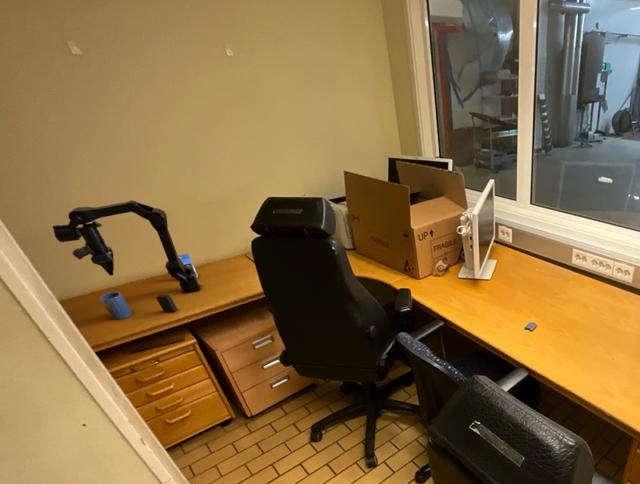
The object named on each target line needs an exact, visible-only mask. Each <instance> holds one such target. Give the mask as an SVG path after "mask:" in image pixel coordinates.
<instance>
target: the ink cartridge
mask: <svg viewBox="0 0 640 484" xmlns="http://www.w3.org/2000/svg"><path fill="white" fill-rule="evenodd" d="M155 299H156V301H157V302H158V305H159V306H160V308H161V310H162V311H163V312H164V313H175V312H176V311H177V310H178V307H177V306H176V304H175V301H174V299H173V298H172V296H171V295H170V294H158V295H157V296H155Z"/></svg>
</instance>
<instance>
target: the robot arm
mask: <svg viewBox="0 0 640 484" xmlns="http://www.w3.org/2000/svg"><path fill="white" fill-rule="evenodd" d="M127 213H133V214H136V215H137V216H139V217H141V218H142V219H145V220H147V221H148V222H149V223H150V225H151V227H152V228H153V229H154V230H155V231H156V233H157V235H158V238H159V240H160V244H161V245H162V248H163V250H164V253H165V256H166V258H167V261H166V262H165V266H164V267H165V269H166V271H167V274H168V275H170V277H171V278H173V279H175V280H177V281H178V282H179V283H178V284H179V286H180V288H181V291H183V294H188V293H193V292H194V293H195V292H199V291H200V290H201V284H199V282H198V279H197V278H195V276H193V270H191V269H189V268H186V267H185V265H184V264H183V262H182V261H181V260H180V259H179V258H180V257H178V255H179V254H178V252H177V250H176V247H175V244H174V242H173V239H172V236H171V234H170V231H169V225H168V218H167V217H168V216H167V213H166V211H165V210H163V209H161V208H157V207H156V208H155V207H152V206H151V205H147V204H144V203H140V202H138V201H136V200H128V201H124V202H118V203H112V204H108V205H107V204H106V205H102V206H93V207H92V206H77V207H74V208H73V209H72V210H71V211H69V213H68V219H69V221H68V224H55V225H52V229H53V233H54V237H55V239H56V240H57V241H59V243H66V242H75V241H80V240H81V238H82V239H83V240H84V242H85V243H84V245H83V246H80V247H79V248H75V249H73V251H72V252H71V254H72V255H73V257H74V258H76V259H78V260H82V259H83V258H84V257H87V256H89V255H90V261H91V262H92V264H94V265H97V266H100V267H101V268H102V269H103V270H104V271H105V272H106V273H107V274H108V275H109V276H114V271H115V267H114V266H115V264H114V262H115V261H114V251H113V249H112V247H111V246H108V245H107V243H106V242H105V239H104V238H103V237H102V235H101V232H100V231H99V229H98V228H101V227H102V226H103V224H102V223H99V222H98V221H97V220H98V219H101V218H106V217H107V218H108V217H113V216H117V215H122V214H127Z"/></svg>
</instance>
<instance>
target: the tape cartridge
mask: <svg viewBox="0 0 640 484" xmlns="http://www.w3.org/2000/svg"><path fill="white" fill-rule="evenodd" d="M177 255H178V257H179V259H180V260H181V261H182V262H183V264H184V265H185V267H186V268H189V269H191V270H193V276H195V278H196V279H197V278H199V274H198V272H197V270H196V268H195V266H194V264H193V261H192V259H191V258H190V255H189V253H184V254H183V253H182V254H177Z"/></svg>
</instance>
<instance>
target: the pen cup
mask: <svg viewBox="0 0 640 484" xmlns="http://www.w3.org/2000/svg"><path fill="white" fill-rule="evenodd" d="M99 300H100V301H101V303H102V305H103V306H104V308H105V309H106V311H107V312H108V314H109V315H110V317H111V318H112V319H113V320H123V319H126V318H129V317H131V316H132V315H133V311H132V309H131V308H130V306H129V305H128V303H127V301H126V300H125V298H124V296H123V295H122V293H121V292H120V291H113V292H108V293H105V294H102V295H101V296H100V297H99Z"/></svg>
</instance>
